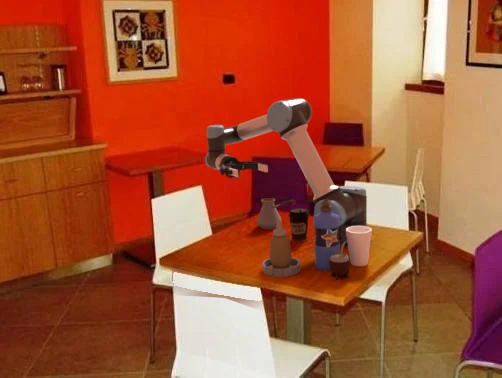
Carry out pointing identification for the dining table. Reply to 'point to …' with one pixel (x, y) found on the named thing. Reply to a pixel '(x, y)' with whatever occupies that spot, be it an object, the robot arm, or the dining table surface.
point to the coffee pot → (269, 213)
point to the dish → (284, 272)
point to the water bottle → (326, 236)
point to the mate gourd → (339, 264)
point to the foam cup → (359, 244)
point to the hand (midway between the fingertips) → (252, 171)
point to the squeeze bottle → (280, 248)
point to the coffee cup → (299, 224)
